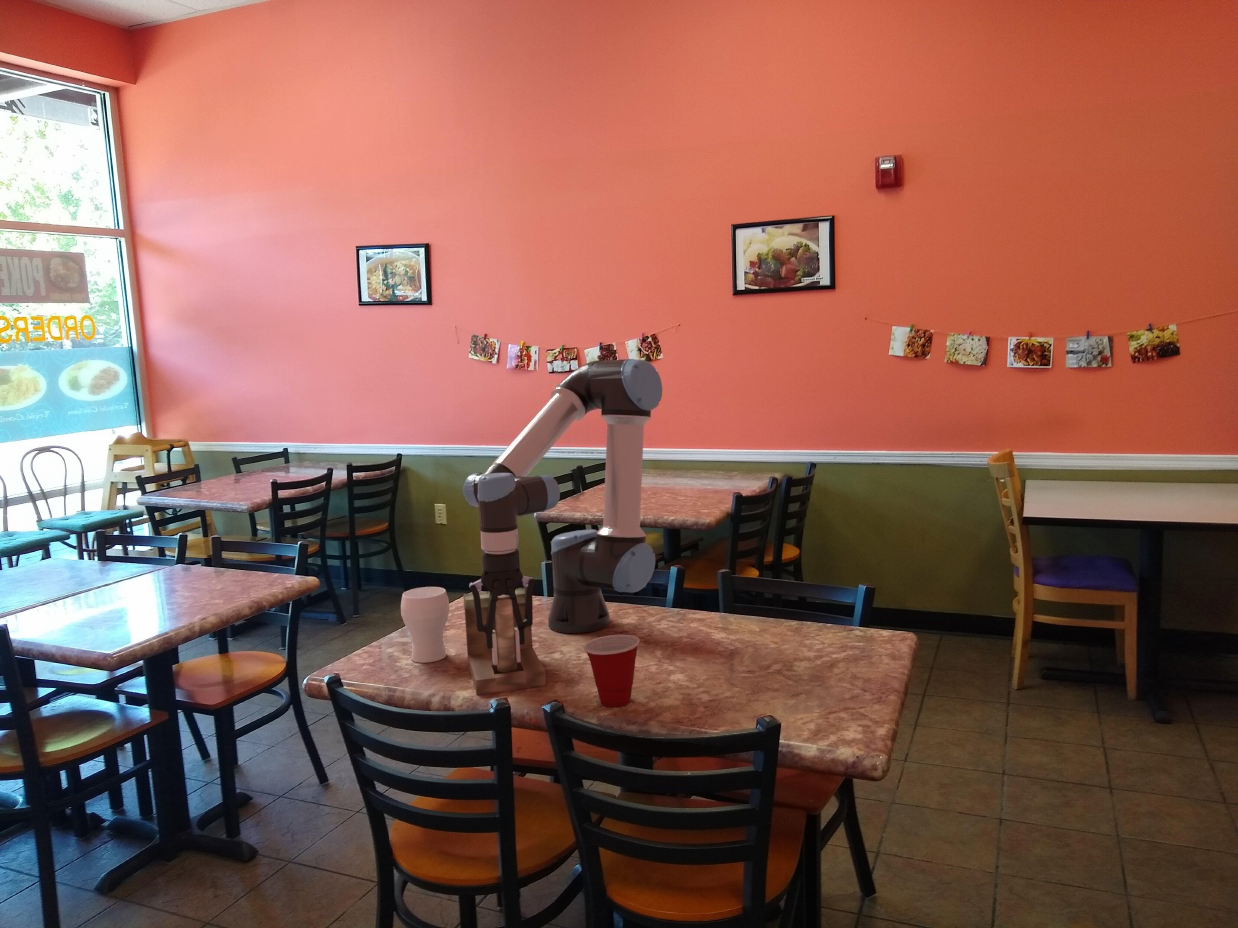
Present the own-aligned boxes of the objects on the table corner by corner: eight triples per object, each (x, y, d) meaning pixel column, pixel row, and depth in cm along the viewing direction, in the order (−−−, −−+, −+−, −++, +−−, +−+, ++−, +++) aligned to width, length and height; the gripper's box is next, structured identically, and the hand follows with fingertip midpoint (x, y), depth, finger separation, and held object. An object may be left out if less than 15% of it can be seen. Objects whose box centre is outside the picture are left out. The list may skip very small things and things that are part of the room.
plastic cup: (597, 688, 184) (594, 630, 182) (649, 693, 180) (646, 633, 179) (577, 709, 174) (574, 648, 172) (632, 714, 170) (629, 652, 169)
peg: (515, 664, 192) (511, 594, 190) (518, 670, 188) (514, 599, 186) (496, 666, 191) (492, 596, 189) (498, 673, 187) (494, 601, 185)
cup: (441, 665, 201) (437, 599, 199) (396, 664, 203) (391, 598, 201) (459, 649, 211) (455, 586, 210) (416, 648, 214) (411, 585, 212)
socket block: (531, 657, 204) (527, 587, 202) (545, 685, 187) (541, 608, 185) (468, 665, 201) (463, 594, 199) (476, 694, 183) (471, 616, 181)
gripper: (538, 542, 192) (544, 650, 195) (456, 550, 188) (463, 660, 191) (544, 549, 185) (550, 662, 188) (459, 557, 181) (466, 672, 184)
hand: (506, 661), depth 189 cm, fingers closed on peg, 4 cm apart
